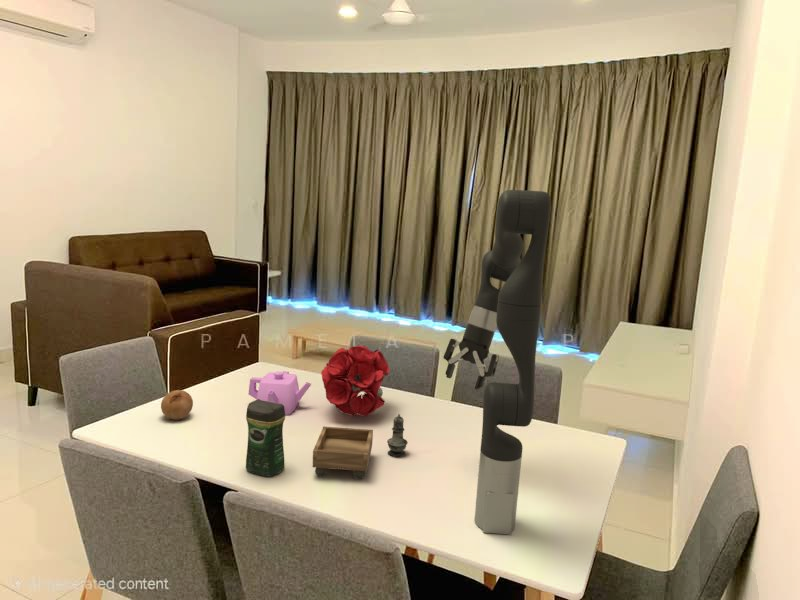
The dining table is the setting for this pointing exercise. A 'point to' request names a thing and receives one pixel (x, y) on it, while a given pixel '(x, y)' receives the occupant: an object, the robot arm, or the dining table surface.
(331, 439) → the wooden serving tray
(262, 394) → the teakettle
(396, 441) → the grey stone tiered cylinder
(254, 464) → the coffee jar
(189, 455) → the dining table surface
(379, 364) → the bouquet
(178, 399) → the onion
